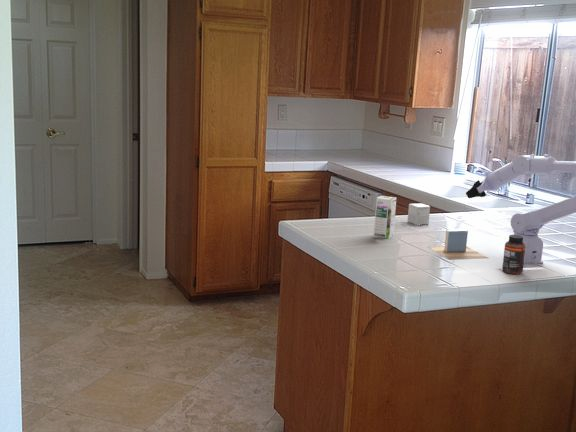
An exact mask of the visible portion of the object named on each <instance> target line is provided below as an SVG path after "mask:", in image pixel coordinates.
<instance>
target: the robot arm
mask: <svg viewBox="0 0 576 432" xmlns="http://www.w3.org/2000/svg"><path fill="white" fill-rule="evenodd" d="M556 172H557V173H558V172H559V173H570V174H576V160H575V161H568V160H566V161H565V160H559V161H558V160H557V158H555V157H554V156H551V154H543V156H542V155H541V156H540V155H536V154H530V155H529V154H528V155H518V156H516V157H514V158H513V159H512V161H511V162H509V163H507V164H505V165H503V166H501V167H499V168H497V169H496V170H494V171H490V170H487V171H484V175H485V177H484V179H483V180H482V181H481V182H480V180H479V179H478V180H477V181H475V182H474V183H473V186H472V187H470V188H469V190H467V191H466V192H465V195H466V197H467V198H468V199H472V198H478V197H480V198H485V197H486V196H487V193H486V192H490V191H497V190H499V189H500V188H502V187H504V186H506V185H508V184H510V183H512V182H514V181H516V180H517V179H519V178H521V177H522V176H524V175H527V174H532V175H543V176H544V175H545V176H553V175H555V173H556ZM485 191H486V192H485ZM575 213H576V195H575V196H573V197H570V198H566V199H564V200H561V201H559V202H556V203H553V204H550V205H547V206H544V207H542V208H540V209H537V210H532V211H527V212H519V213H518V212H517V213H515V214H513V215H512V216H511V219H510V226H511V229H512V233H513V235H520V236H523V241H522V242H523V243H524V244H525V256H524V264H526V263H527V264H529V263H530V264H531V263H532V264H533V263H537V264H543V263H544V261H543V260H542V257H543V249H544V242H543V240H542V238H540V237H539V232H540V230H541V229H542V228H543V227H544V226H545V225H547V224H549V223H550V222H553V221H556V220H560V219H562V218H565V217H568V216H570V215H574V214H575Z"/></svg>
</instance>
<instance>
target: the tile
mask: <svg viewBox="0 0 576 432" xmlns="http://www.w3.org/2000/svg"><path fill="white" fill-rule="evenodd" d="M468 233H469V230H467V229H466V228H465V229H446V230H445V236H444V237H445V239H444V245H443V246H444V251H446V252H456V251H466V246H467V242H468Z"/></svg>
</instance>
